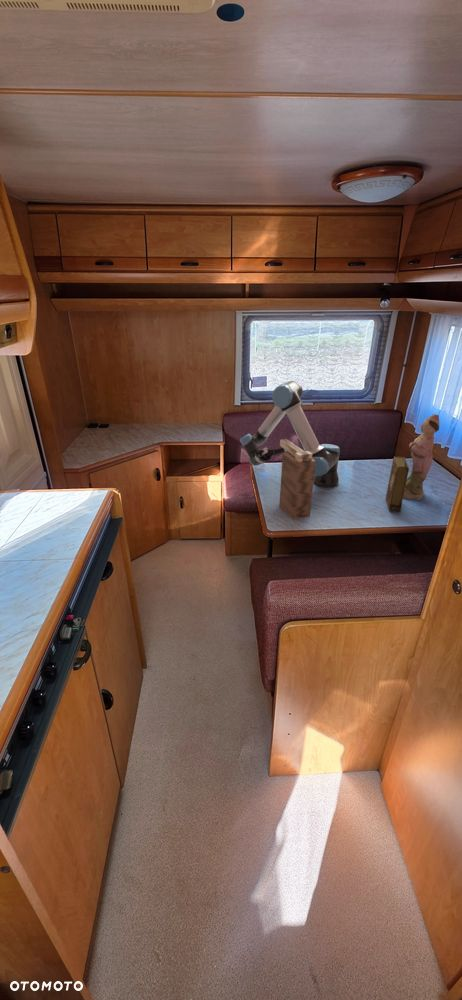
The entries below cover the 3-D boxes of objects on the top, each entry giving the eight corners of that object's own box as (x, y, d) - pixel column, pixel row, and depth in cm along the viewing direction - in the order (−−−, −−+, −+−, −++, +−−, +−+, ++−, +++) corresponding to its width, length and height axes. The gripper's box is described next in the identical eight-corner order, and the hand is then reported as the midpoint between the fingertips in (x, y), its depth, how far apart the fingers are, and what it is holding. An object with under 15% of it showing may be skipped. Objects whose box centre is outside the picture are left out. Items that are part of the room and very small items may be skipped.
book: (385, 497, 238) (393, 455, 227) (395, 498, 237) (404, 456, 226) (388, 511, 223) (397, 467, 212) (399, 512, 222) (409, 467, 211)
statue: (424, 490, 247) (442, 413, 227) (423, 501, 234) (441, 421, 214) (396, 485, 253) (411, 409, 233) (393, 496, 240) (408, 417, 220)
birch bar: (288, 444, 225) (289, 438, 224) (311, 460, 205) (312, 453, 204) (276, 446, 223) (277, 439, 222) (298, 462, 203) (299, 455, 201)
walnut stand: (295, 503, 231) (300, 450, 217) (309, 515, 218) (315, 460, 205) (279, 506, 228) (282, 452, 214) (292, 519, 215) (297, 463, 202)
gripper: (283, 459, 253) (300, 452, 233) (244, 464, 245) (258, 458, 225) (281, 447, 253) (297, 439, 233) (242, 451, 246) (255, 444, 225)
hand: (278, 448), depth 229 cm, fingers open, 13 cm apart
